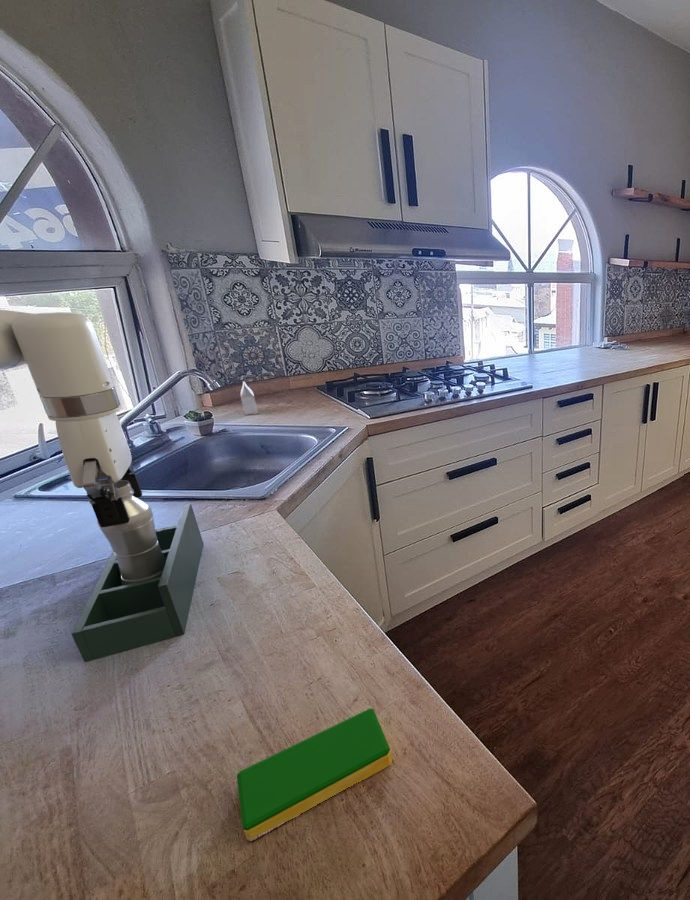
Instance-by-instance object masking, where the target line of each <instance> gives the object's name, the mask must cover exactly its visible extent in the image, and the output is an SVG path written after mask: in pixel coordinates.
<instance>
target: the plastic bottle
mask: <svg viewBox="0 0 690 900" xmlns="http://www.w3.org/2000/svg"><path fill="white" fill-rule="evenodd" d="M116 484H117V492H118V498H120V497H122V500H123V502H124V505H125V508H126V510H127V513H128V516H129V518H130V520H129V522H128V523H125V524H120V525H114V526H109V527H101V526H100V525H99V522H98V520H97V519H96V521H97V522H96V524H97V526H98V528H99V529H100V531H101V532H102V534H103V535H104V537H105V538H106V541H107V542H108V543H109V545H110V547H111V549H112V552H113V551H114V554H115V556H116V558H117V561H118V565H119V569H120V573H121V583H122V586H123V585H127V584H132V583H136V582H140V581H145V580H149V579H153V578H158V577H161V575H162V572H163V569H164V566H165V563H166V559H165V557H164V555H163V553H162V550H161V548H160V546H159V543H158V540H157V536H156V532H155V530H156V526H155V520H154V519H155V518H154V513H153V509H152V508H151V506H150V505H149V504H148V503H147V502H145V501H144V500H143V499H140V498H137V497H135V496H133V494H134V490H133V489H132V487H131V485H130V483H129V481H127V480H119V481H118V482H116ZM101 488H105V489H106V490H108V491H109V485H107V486H101ZM109 492H110V491H109Z"/></svg>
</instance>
